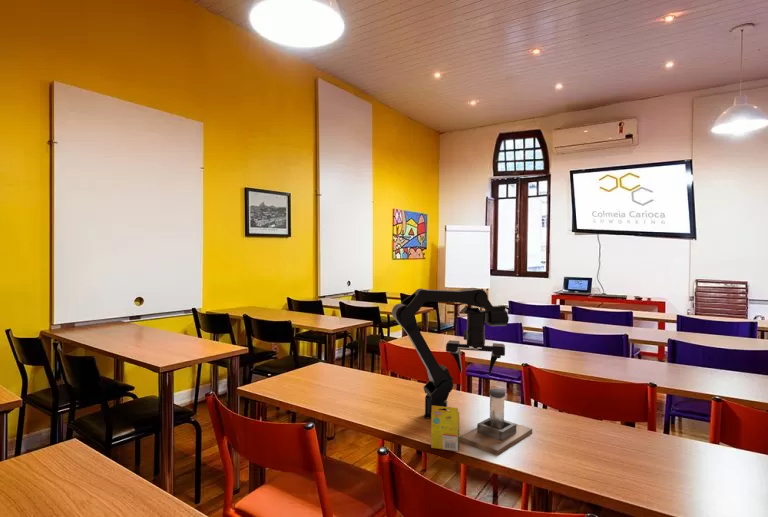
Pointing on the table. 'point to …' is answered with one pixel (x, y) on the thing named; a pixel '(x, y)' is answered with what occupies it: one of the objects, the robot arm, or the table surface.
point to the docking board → (495, 436)
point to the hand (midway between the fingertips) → (475, 373)
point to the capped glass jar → (497, 408)
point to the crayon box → (445, 428)
